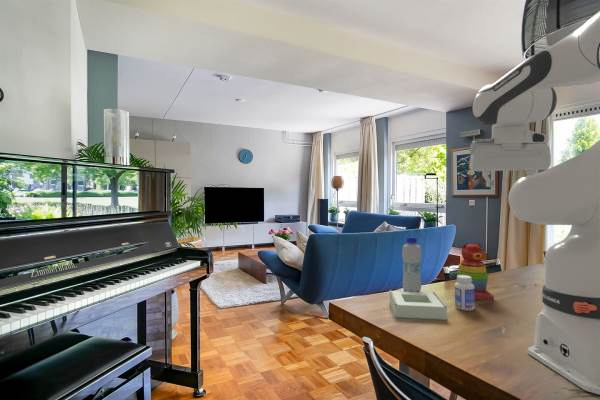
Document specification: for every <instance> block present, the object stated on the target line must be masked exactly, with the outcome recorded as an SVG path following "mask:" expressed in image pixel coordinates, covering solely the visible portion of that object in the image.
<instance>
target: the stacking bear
mask: <svg viewBox="0 0 600 400" xmlns="http://www.w3.org/2000/svg"><path fill="white" fill-rule="evenodd" d="M461 257H462V258H463V260H461V261H460V263H459V264H458V269H457V273H456V277H457V276H458V275H467V276H470V277H471V278H472V282H471V283H472V284H473V285H474V300H483V301H493V300H494V297H495V296H494V295H493V293H491V292H489V291H488V290H487V287H488V286H487V285H488V281H489V280H488V279H489V277H488V276H489V274H488V271H487V267H486V265H485V263H484V261H482V260H483V259H484V257H485V253H484V249H483V248H482V245H481V243H477V244H471V243H469V244H463V245H461Z"/></svg>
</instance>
